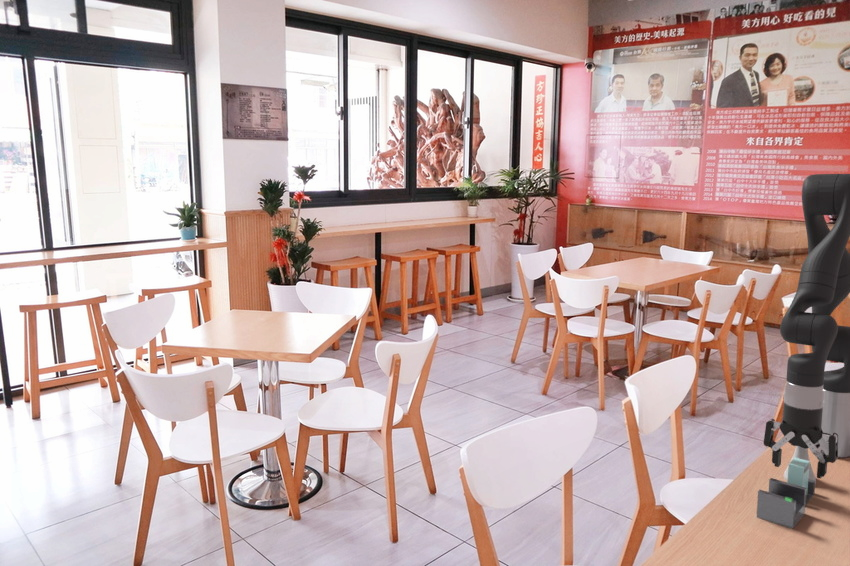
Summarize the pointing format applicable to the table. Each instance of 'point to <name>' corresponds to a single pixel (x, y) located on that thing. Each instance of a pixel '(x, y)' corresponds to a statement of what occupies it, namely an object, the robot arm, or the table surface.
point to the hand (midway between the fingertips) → (798, 471)
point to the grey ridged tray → (810, 490)
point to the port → (782, 503)
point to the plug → (799, 472)
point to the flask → (803, 454)
